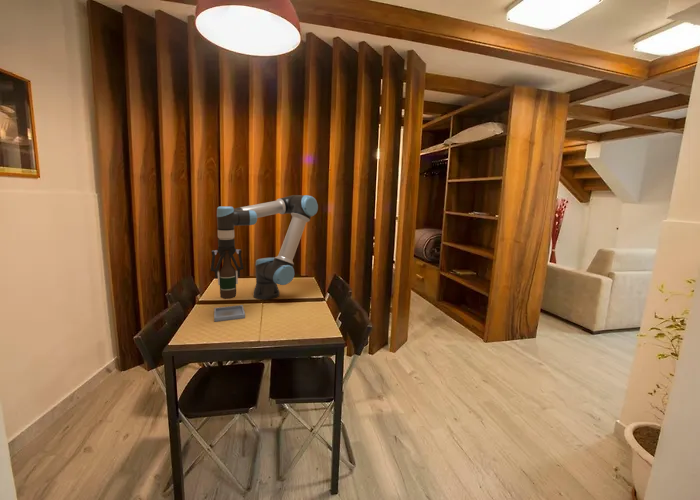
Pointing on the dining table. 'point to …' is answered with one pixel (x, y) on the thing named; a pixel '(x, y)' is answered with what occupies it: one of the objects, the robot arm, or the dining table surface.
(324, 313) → the dining table surface
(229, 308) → the tray
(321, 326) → the dining table surface
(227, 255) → the beer bottle
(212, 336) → the dining table surface
